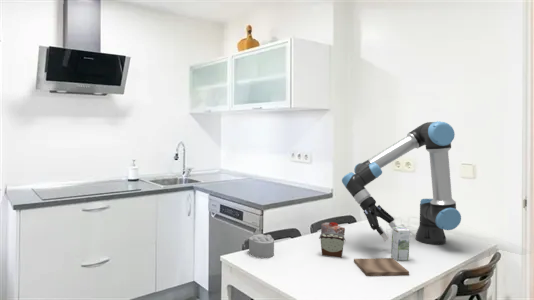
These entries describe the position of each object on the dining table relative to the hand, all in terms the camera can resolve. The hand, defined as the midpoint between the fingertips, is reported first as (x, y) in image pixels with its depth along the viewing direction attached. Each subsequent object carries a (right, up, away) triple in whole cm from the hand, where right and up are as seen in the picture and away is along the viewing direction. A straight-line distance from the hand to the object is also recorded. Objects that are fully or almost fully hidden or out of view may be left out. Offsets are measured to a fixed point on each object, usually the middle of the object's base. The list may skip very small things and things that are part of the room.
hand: (393, 236), depth 169 cm
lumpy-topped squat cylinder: (-62, -9, +4) cm, 62 cm away
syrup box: (+3, -10, -1) cm, 11 cm away
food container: (-28, -10, +4) cm, 30 cm away
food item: (-24, -9, +27) cm, 37 cm away
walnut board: (-10, -11, -13) cm, 20 cm away
